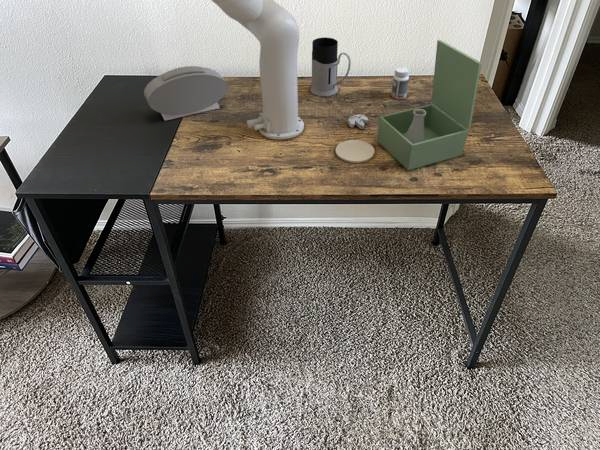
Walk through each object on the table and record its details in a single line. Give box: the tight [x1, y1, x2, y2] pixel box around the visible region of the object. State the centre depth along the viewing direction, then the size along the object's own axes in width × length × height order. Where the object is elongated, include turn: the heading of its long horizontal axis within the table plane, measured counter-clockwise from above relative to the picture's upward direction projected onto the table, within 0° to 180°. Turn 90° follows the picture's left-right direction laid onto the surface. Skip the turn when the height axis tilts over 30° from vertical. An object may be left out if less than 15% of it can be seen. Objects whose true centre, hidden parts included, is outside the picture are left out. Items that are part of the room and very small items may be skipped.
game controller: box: [339, 109, 369, 130], centre depth 128 cm, size 6×12×3 cm, turn 49°
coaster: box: [335, 139, 376, 164], centre depth 117 cm, size 10×10×1 cm
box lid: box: [430, 39, 482, 130], centre depth 109 cm, size 17×15×1 cm
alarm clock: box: [143, 65, 229, 121], centre depth 131 cm, size 23×6×13 cm, turn 115°
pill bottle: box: [390, 66, 410, 100], centre depth 137 cm, size 5×5×8 cm
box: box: [376, 103, 469, 171], centre depth 116 cm, size 16×15×7 cm
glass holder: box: [310, 36, 352, 97], centre depth 137 cm, size 9×14×15 cm, turn 46°
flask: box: [404, 109, 427, 144], centre depth 114 cm, size 7×7×10 cm
